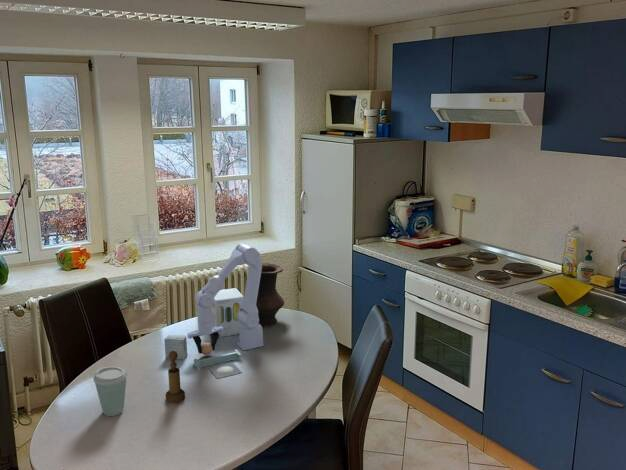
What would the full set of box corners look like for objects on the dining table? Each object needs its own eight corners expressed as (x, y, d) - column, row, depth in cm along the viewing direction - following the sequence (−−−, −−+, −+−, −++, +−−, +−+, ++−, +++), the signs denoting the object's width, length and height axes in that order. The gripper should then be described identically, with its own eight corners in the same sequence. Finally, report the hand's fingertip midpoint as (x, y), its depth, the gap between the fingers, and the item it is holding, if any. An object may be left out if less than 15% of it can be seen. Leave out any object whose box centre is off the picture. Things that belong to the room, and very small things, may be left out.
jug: (260, 312, 286) (258, 253, 278) (292, 319, 277) (291, 258, 269) (233, 326, 268) (231, 264, 261) (266, 334, 259) (265, 270, 252)
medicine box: (187, 354, 239) (186, 335, 237) (184, 359, 234) (183, 339, 232) (169, 354, 239) (167, 334, 237) (165, 358, 235) (164, 338, 233)
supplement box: (216, 337, 255) (214, 300, 251) (209, 327, 267) (207, 291, 263) (245, 333, 260) (244, 296, 256) (237, 322, 272) (236, 287, 268)
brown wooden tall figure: (168, 405, 200) (165, 357, 196) (163, 397, 205) (160, 350, 201) (187, 401, 203) (184, 353, 199) (182, 392, 208) (179, 346, 204)
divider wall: (236, 355, 238) (236, 349, 238) (241, 360, 234) (241, 354, 234) (194, 364, 230) (193, 359, 229) (198, 369, 226) (197, 364, 225)
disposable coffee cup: (129, 401, 202) (125, 361, 199) (130, 417, 193) (127, 375, 189) (96, 406, 199) (92, 366, 195) (96, 423, 189) (92, 381, 186)
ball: (210, 350, 241) (209, 339, 240) (214, 355, 237) (214, 344, 236) (198, 353, 239) (198, 342, 237) (202, 358, 234) (202, 346, 233)
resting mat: (232, 362, 232) (232, 362, 232) (242, 372, 223) (242, 372, 223) (208, 368, 227) (208, 367, 227) (217, 378, 219) (217, 378, 219)
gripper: (218, 313, 241) (219, 343, 244) (184, 320, 234) (186, 351, 237) (224, 319, 235) (225, 350, 238) (189, 326, 228) (191, 357, 231)
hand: (206, 351), depth 237 cm, fingers closed on ball, 5 cm apart
